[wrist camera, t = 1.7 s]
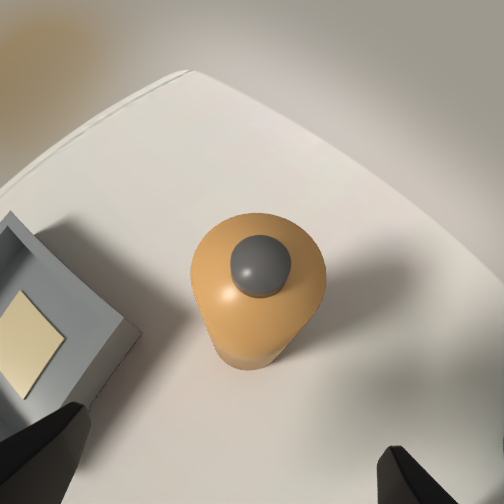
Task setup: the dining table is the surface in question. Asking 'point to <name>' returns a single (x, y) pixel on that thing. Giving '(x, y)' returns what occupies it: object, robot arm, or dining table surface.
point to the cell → (256, 286)
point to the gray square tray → (50, 333)
